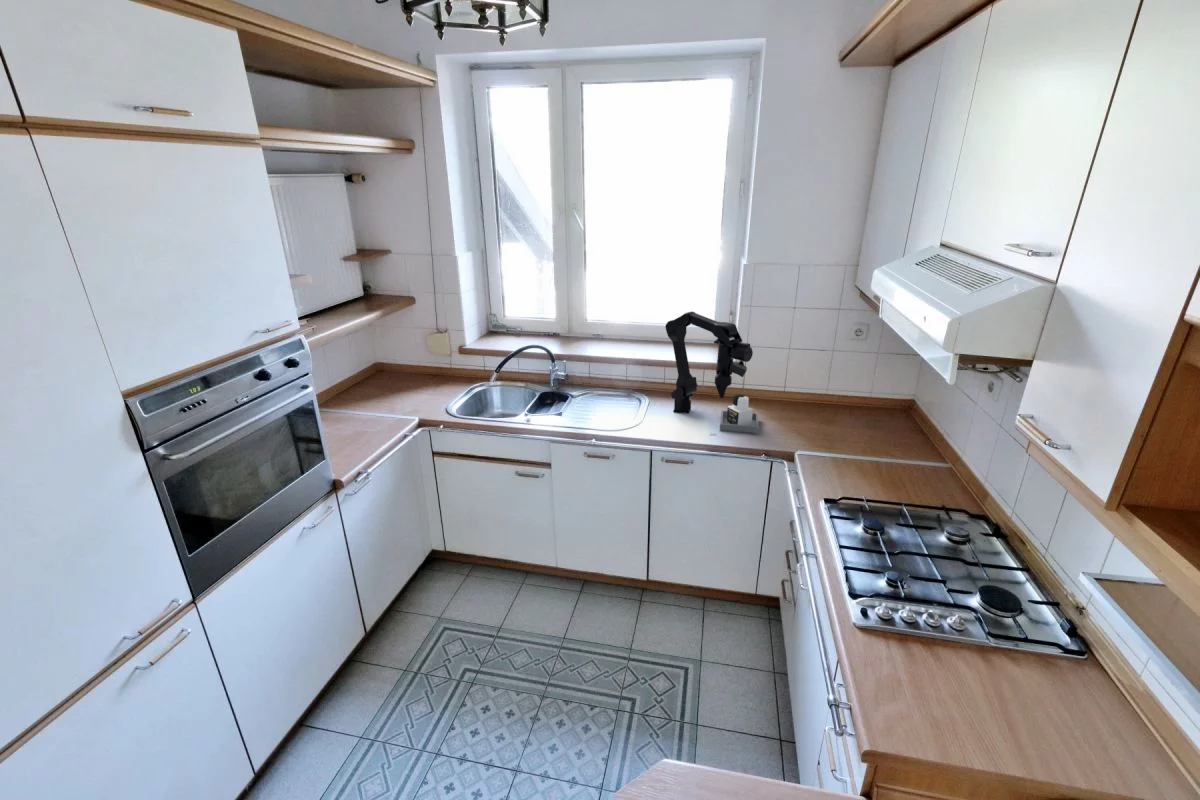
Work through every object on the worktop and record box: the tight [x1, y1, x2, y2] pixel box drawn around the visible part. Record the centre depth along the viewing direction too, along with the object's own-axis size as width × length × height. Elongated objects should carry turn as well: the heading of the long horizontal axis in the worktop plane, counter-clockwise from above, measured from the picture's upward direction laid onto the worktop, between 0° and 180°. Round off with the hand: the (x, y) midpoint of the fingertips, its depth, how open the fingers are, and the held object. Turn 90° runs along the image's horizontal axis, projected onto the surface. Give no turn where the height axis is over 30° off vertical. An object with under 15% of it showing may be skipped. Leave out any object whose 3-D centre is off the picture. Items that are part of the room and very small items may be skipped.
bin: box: [719, 409, 760, 435], centre depth 225 cm, size 15×15×3 cm
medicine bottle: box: [726, 394, 754, 426], centre depth 223 cm, size 7×7×12 cm
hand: (722, 394), depth 223 cm, fingers open, 9 cm apart
